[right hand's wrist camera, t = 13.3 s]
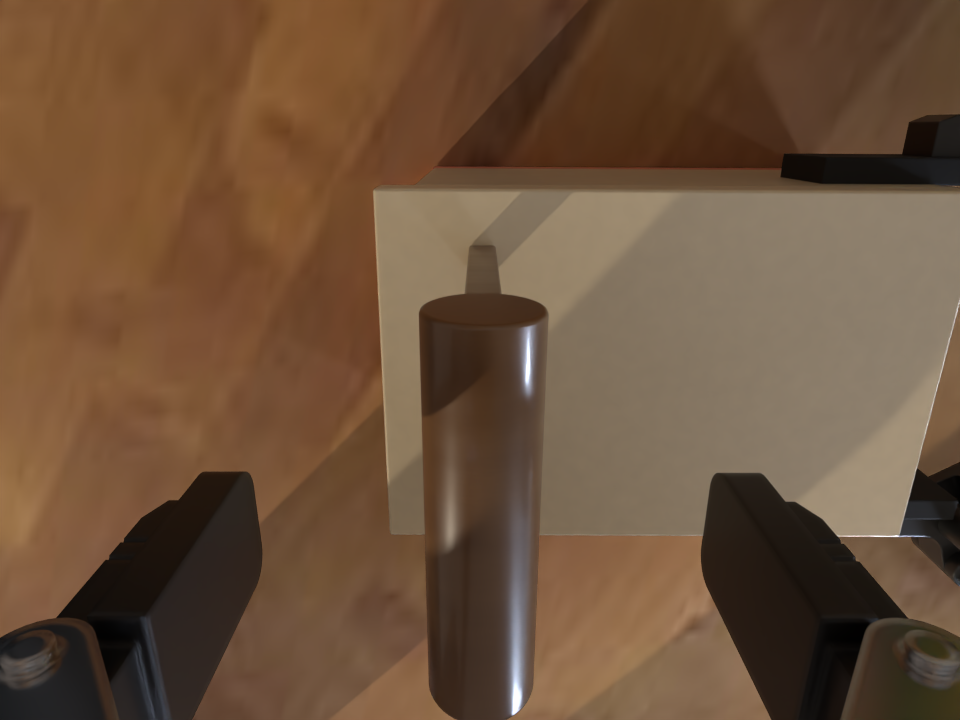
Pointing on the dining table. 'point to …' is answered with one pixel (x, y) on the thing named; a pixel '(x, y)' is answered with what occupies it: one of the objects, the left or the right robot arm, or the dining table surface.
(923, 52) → the dining table surface
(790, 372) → the lid
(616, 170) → the chest
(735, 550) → the right robot arm
